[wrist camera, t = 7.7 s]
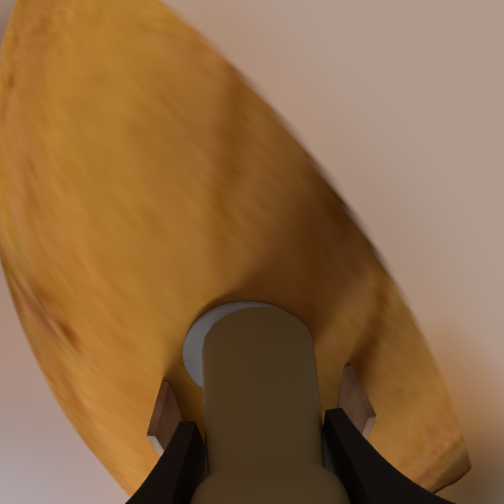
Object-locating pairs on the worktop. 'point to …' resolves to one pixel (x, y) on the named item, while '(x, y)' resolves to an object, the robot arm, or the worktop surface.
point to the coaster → (201, 328)
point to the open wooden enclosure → (160, 435)
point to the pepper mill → (263, 414)
